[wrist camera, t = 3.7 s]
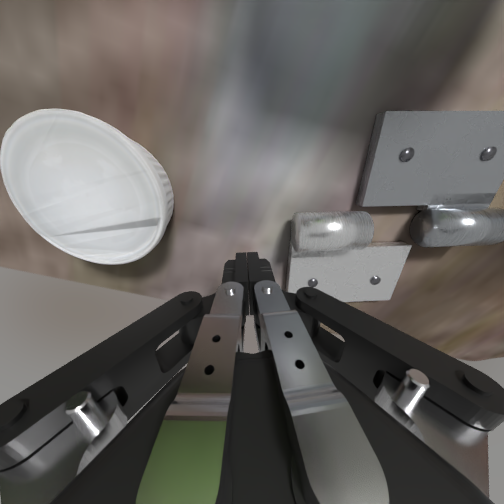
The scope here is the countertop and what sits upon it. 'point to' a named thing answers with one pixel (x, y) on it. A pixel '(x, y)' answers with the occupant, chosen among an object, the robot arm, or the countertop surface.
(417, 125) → the fixed leaf
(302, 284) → the loose leaf
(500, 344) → the countertop surface
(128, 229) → the ramekin
